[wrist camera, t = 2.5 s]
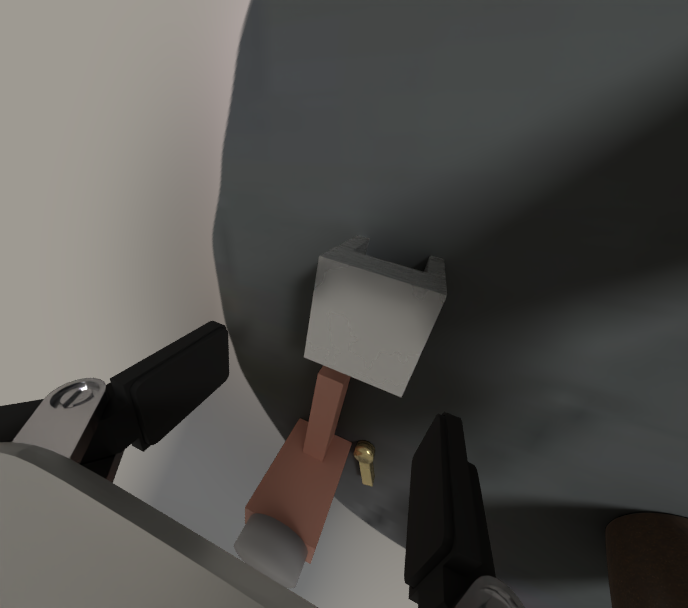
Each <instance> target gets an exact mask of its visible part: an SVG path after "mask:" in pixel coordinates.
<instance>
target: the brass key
mask: <svg viewBox="0 0 688 608" xmlns="http://www.w3.org/2000/svg"><path fill="white" fill-rule="evenodd" d="M374 453H375V447H374V446H373V445H372V444H371V443H370V442H368V441H365V440H360V441H358V442H357V445H356V448H355V451H354V456H355V458H356V459H357V460H358V461H359V465H360V470H361V476H362V482H363V484H365V485H369V486H373V482H374V477H375V475H374V468H373V457H374Z"/></svg>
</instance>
